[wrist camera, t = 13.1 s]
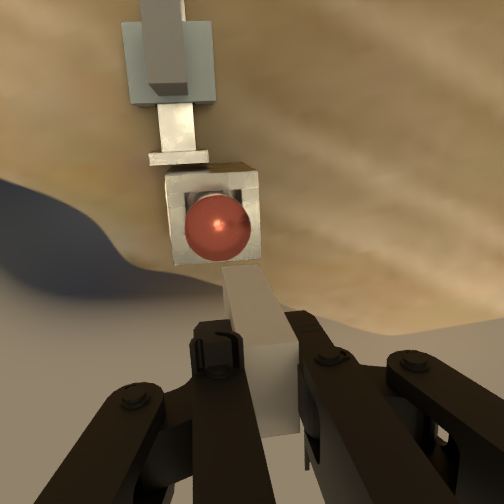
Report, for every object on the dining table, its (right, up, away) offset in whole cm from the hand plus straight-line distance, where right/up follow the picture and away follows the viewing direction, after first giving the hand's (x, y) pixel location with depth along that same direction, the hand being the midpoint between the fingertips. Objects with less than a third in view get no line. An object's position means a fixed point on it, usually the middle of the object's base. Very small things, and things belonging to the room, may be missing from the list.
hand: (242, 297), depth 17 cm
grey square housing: (-4, +7, +25) cm, 26 cm away
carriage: (-7, +18, +21) cm, 29 cm away
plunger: (-3, +5, +19) cm, 20 cm away
